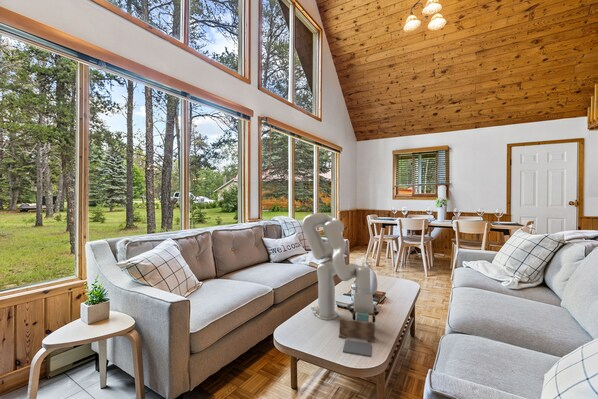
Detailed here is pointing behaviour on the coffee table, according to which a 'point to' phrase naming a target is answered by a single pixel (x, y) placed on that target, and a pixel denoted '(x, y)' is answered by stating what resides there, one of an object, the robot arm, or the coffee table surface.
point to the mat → (357, 348)
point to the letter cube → (362, 317)
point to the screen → (357, 329)
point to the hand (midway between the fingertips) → (363, 322)
